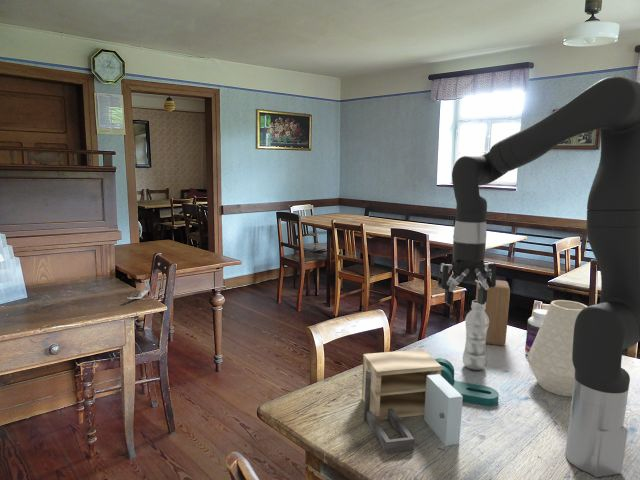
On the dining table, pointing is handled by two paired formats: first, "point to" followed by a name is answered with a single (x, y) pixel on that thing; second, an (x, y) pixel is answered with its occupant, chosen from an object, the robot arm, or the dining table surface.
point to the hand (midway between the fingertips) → (465, 304)
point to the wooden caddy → (395, 392)
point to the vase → (555, 348)
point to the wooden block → (497, 312)
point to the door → (443, 409)
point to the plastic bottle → (476, 337)
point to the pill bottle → (534, 327)
